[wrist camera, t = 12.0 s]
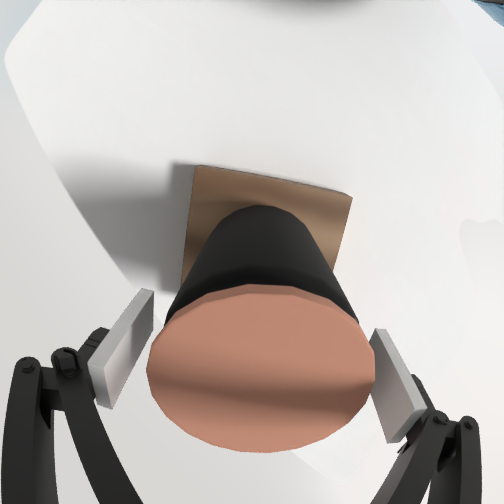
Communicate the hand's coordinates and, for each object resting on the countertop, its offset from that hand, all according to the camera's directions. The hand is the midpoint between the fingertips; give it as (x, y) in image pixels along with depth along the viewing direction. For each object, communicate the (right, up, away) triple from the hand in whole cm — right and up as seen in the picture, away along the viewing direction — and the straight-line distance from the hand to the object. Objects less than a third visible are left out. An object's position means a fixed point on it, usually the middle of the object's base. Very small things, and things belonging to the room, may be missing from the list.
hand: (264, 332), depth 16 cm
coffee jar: (0, +4, +13) cm, 14 cm away
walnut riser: (0, +5, +16) cm, 16 cm away
